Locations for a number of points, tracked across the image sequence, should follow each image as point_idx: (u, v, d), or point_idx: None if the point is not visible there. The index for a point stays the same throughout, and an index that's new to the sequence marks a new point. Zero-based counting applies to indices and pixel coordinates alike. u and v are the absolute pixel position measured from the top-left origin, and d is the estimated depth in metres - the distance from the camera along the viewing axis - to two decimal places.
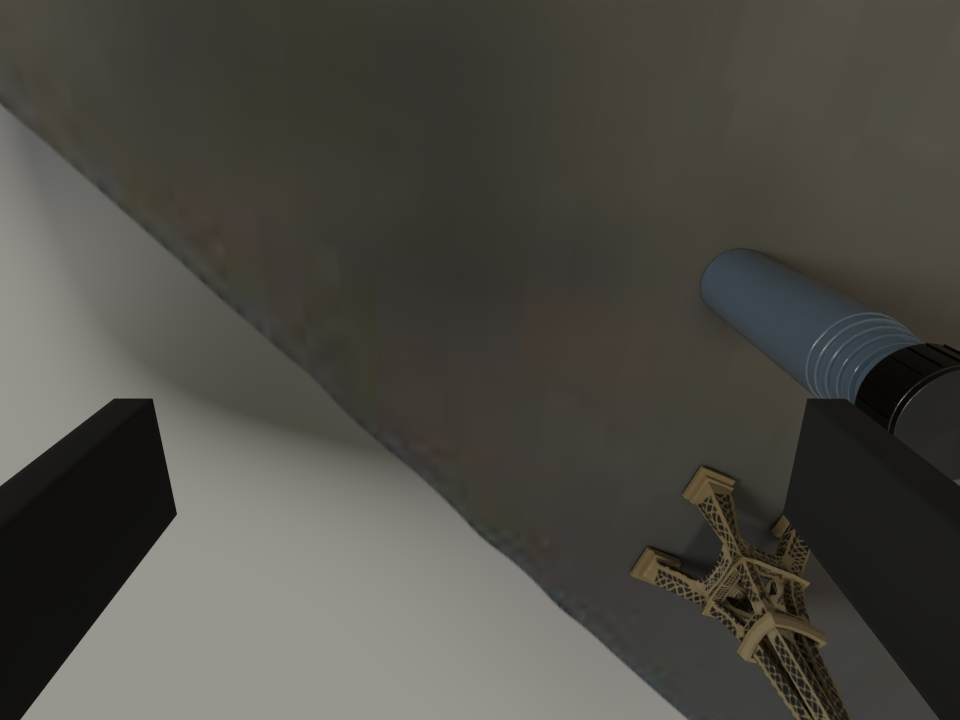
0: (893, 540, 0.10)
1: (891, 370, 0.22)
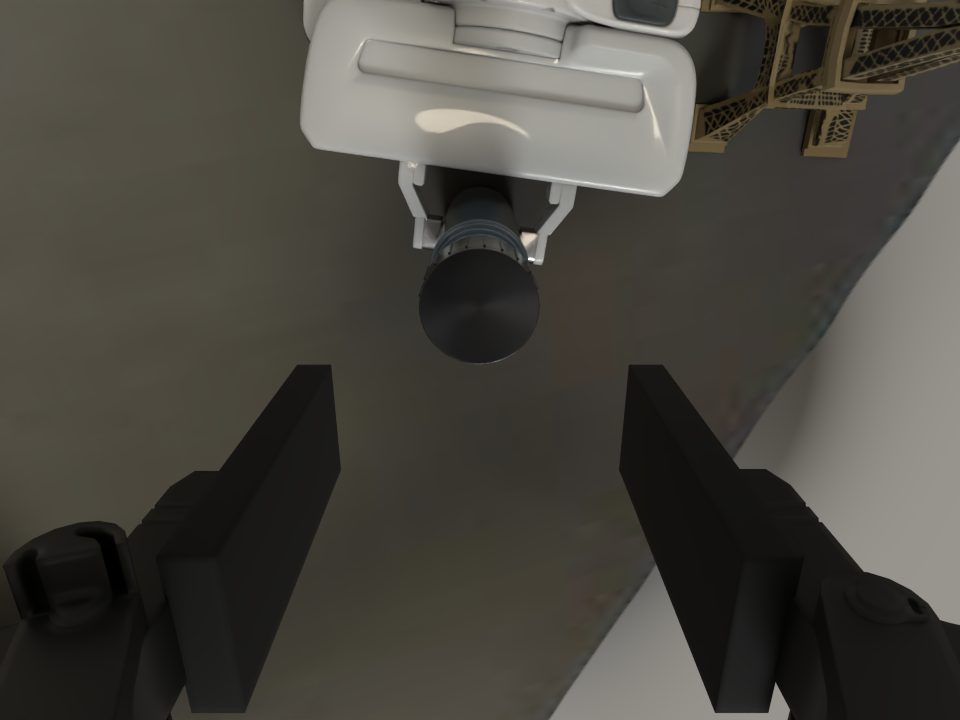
0: (662, 478, 0.11)
1: None
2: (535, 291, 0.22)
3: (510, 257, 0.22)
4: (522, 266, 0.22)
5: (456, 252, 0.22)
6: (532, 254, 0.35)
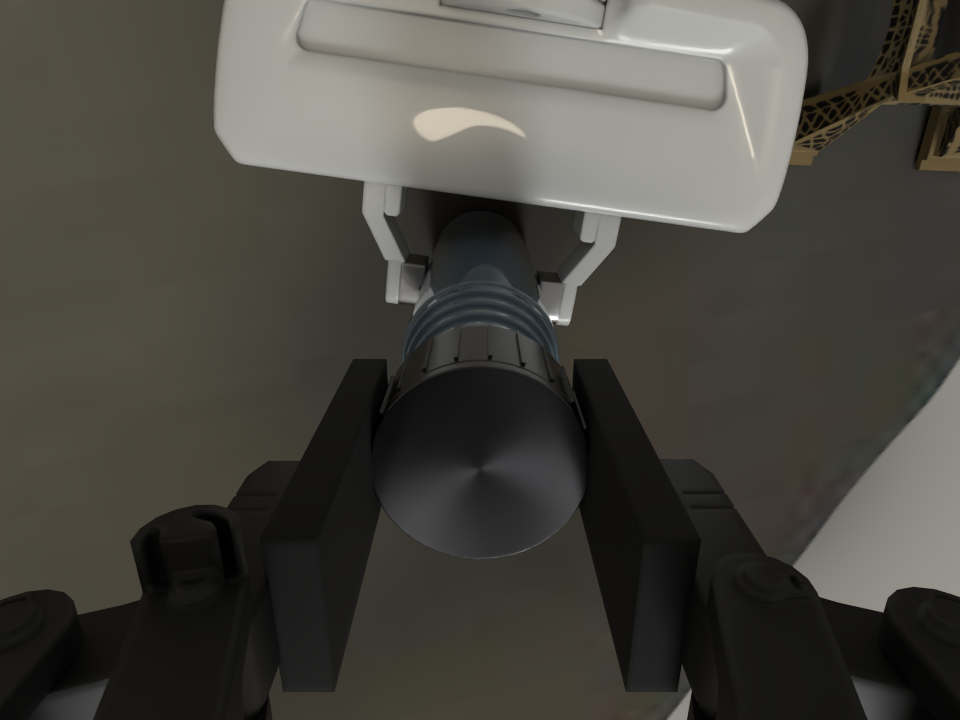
0: (594, 468, 0.12)
1: None
2: (584, 440, 0.12)
3: (539, 382, 0.12)
4: (561, 397, 0.12)
5: (437, 372, 0.12)
6: (555, 312, 0.24)
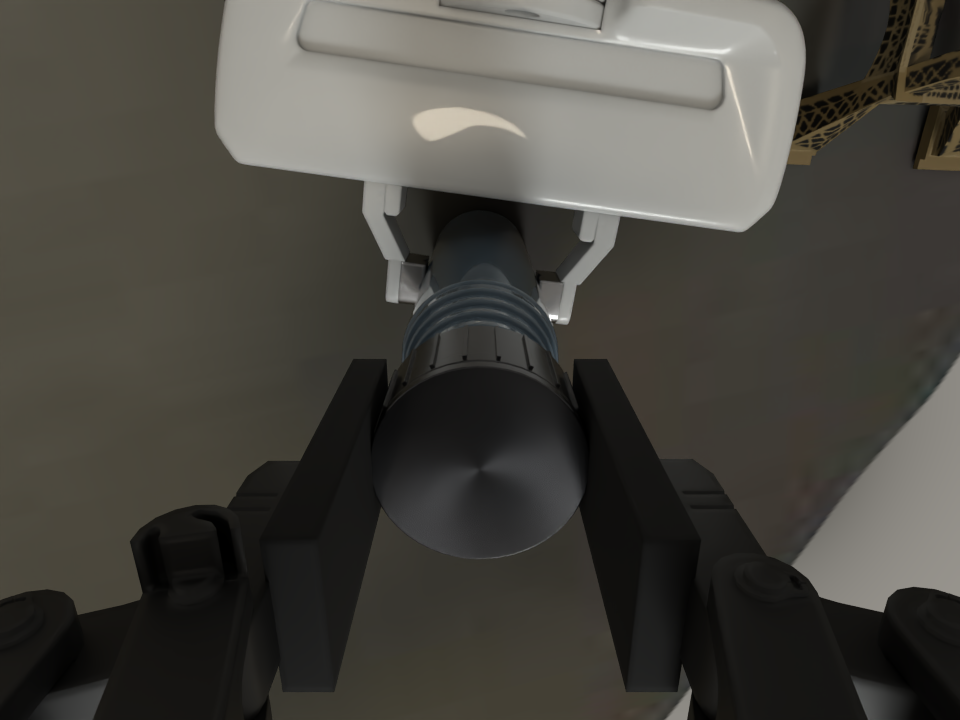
0: (594, 467, 0.12)
1: None
2: (403, 397, 0.12)
3: None
4: (375, 434, 0.12)
5: None
6: (554, 311, 0.25)
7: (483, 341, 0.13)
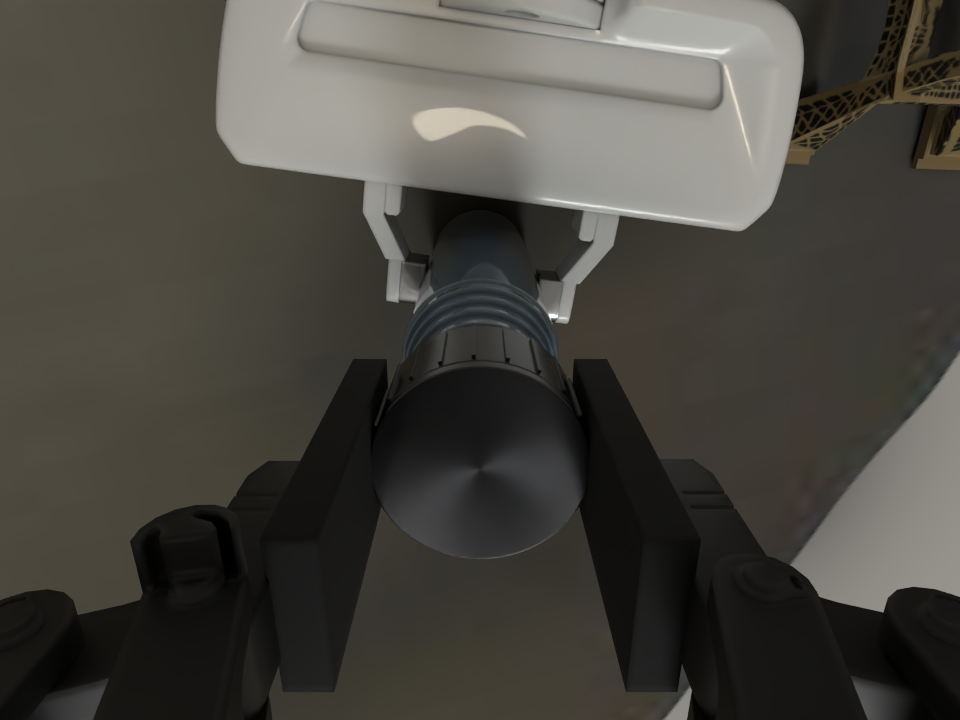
0: (594, 468, 0.12)
1: (424, 352, 0.13)
2: (442, 550, 0.13)
3: (516, 553, 0.13)
4: (490, 555, 0.13)
5: (582, 494, 0.13)
6: (554, 310, 0.25)
7: None
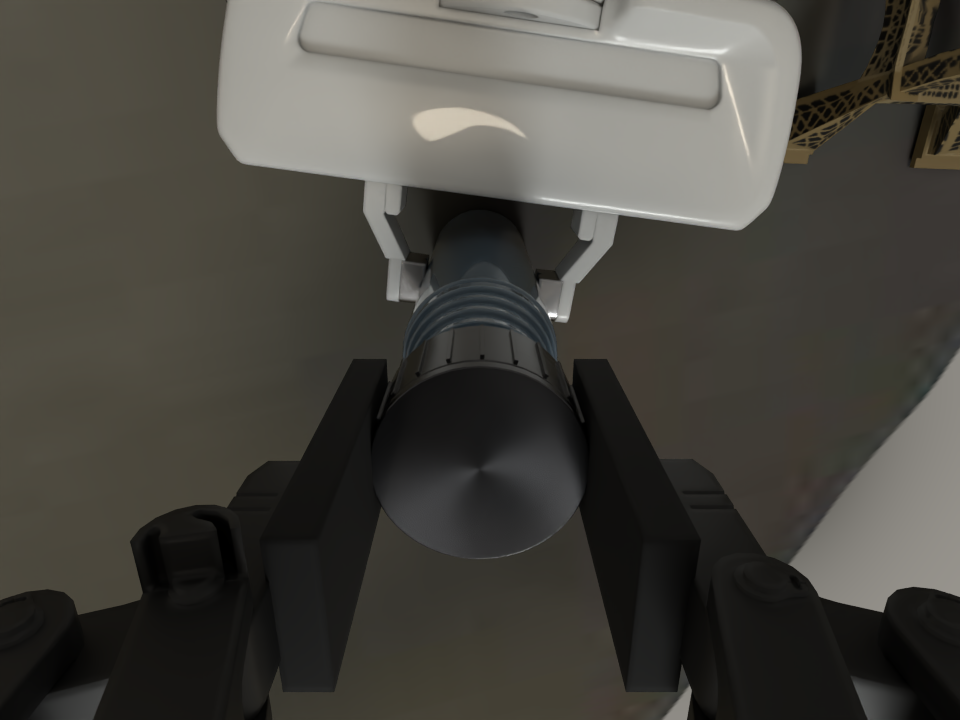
0: (594, 468, 0.12)
1: None
2: (587, 462, 0.12)
3: (559, 397, 0.12)
4: (576, 415, 0.12)
5: (463, 366, 0.12)
6: (553, 309, 0.25)
7: None
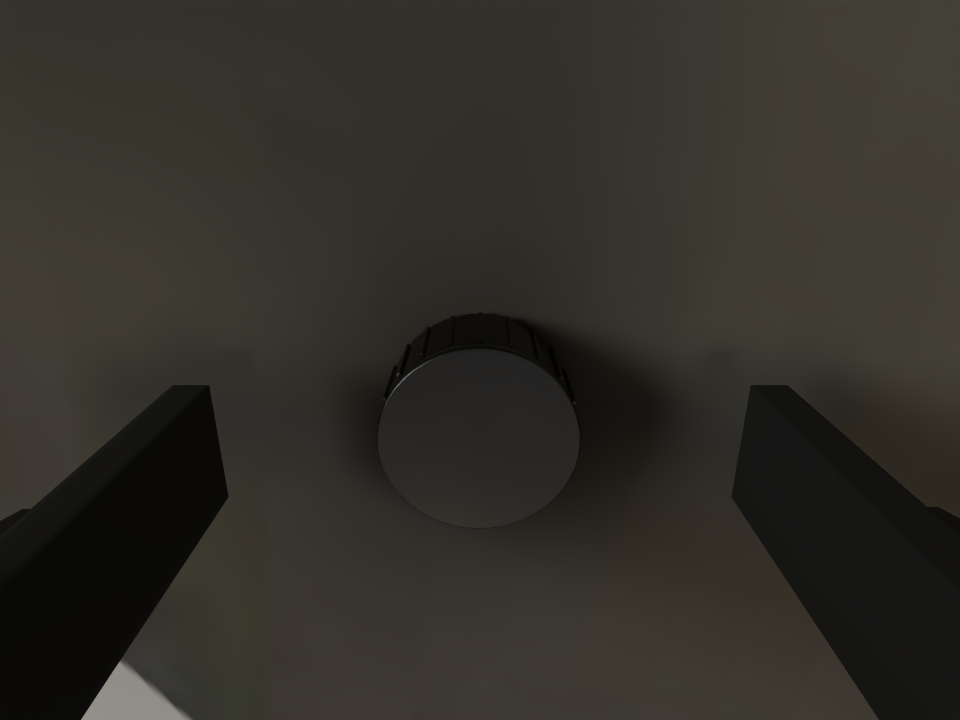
0: (817, 515, 0.10)
1: None
2: (577, 437, 0.13)
3: (551, 377, 0.13)
4: (566, 394, 0.13)
5: (463, 348, 0.13)
6: None
7: None
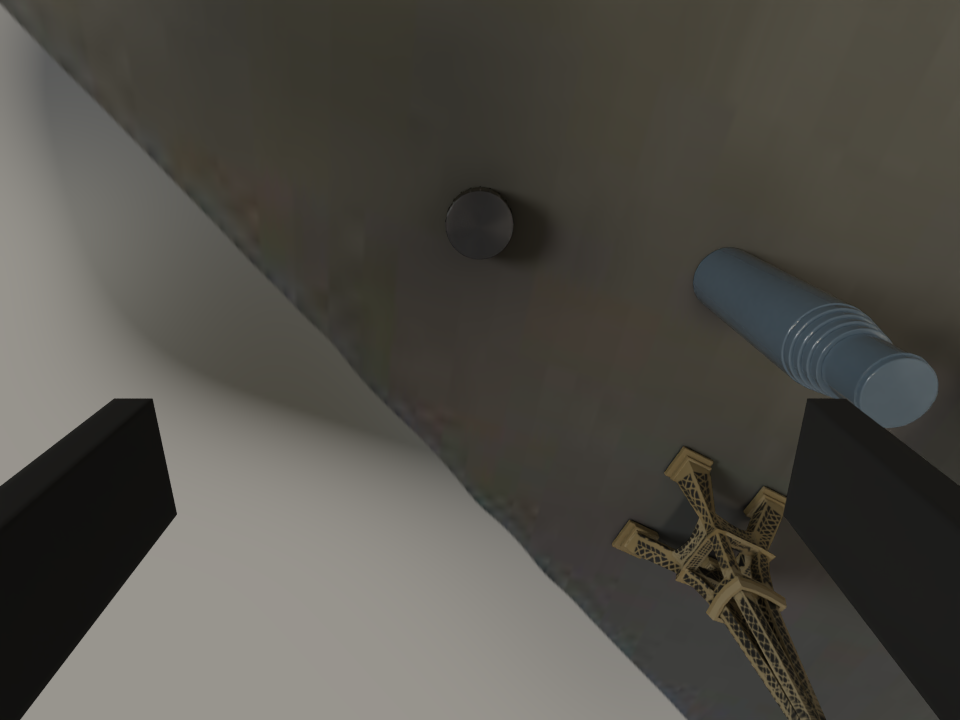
0: (893, 540, 0.10)
1: None
2: (512, 223, 0.40)
3: (503, 201, 0.40)
4: (508, 207, 0.40)
5: (474, 191, 0.40)
6: None
7: None
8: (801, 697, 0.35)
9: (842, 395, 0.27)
